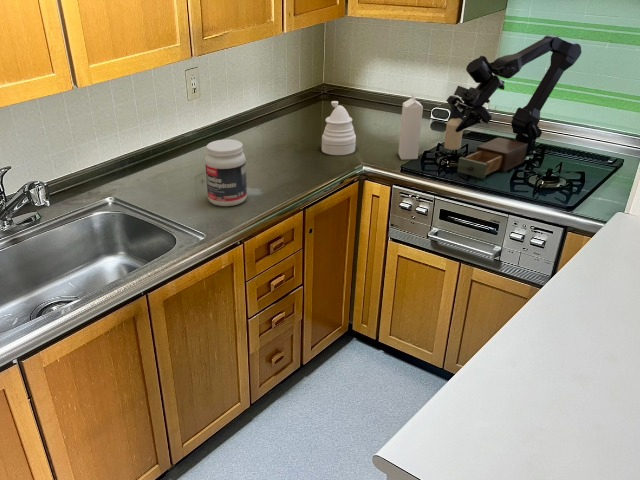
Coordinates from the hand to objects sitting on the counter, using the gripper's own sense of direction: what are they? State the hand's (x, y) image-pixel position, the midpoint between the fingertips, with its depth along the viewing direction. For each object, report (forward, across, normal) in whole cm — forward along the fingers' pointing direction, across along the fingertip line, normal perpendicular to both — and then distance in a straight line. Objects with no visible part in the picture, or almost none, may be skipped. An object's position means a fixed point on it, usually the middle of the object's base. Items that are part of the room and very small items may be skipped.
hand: (451, 129), depth 213 cm
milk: (+14, -14, +4) cm, 20 cm away
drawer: (+5, +11, +12) cm, 17 cm away
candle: (+4, 0, +6) cm, 7 cm away
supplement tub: (+65, -4, -48) cm, 81 cm away
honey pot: (+28, -33, -9) cm, 44 cm away
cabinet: (-3, +6, +22) cm, 23 cm away
